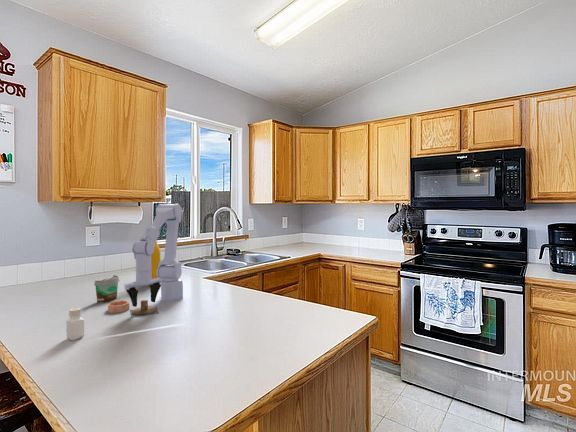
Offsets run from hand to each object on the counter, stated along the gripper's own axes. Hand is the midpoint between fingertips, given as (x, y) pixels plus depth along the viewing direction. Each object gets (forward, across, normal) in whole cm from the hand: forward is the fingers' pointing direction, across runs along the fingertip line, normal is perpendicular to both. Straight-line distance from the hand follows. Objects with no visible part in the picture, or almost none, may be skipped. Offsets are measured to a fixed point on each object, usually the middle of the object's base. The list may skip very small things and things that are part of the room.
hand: (144, 303), depth 131 cm
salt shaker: (+4, +26, +6) cm, 27 cm away
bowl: (+4, +5, -11) cm, 13 cm away
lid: (+3, 0, 0) cm, 3 cm away
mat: (+4, 0, 0) cm, 4 cm away
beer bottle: (+4, -28, -44) cm, 52 cm away
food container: (+4, 0, -30) cm, 31 cm away
